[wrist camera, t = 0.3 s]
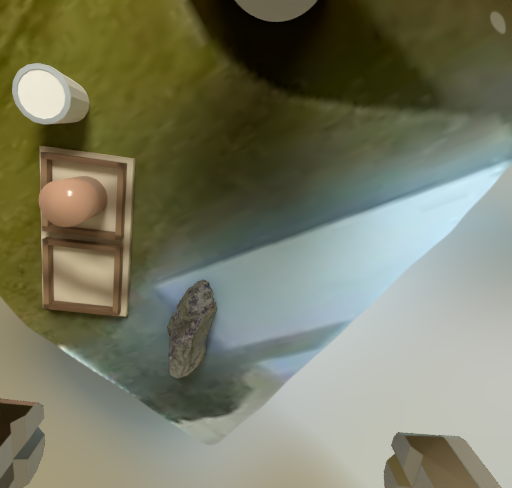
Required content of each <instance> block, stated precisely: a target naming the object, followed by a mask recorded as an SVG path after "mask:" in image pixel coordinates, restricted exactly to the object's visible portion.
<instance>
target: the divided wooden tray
mask: <svg viewBox="0 0 512 488" xmlns="http://www.w3.org/2000/svg"><path fill="white" fill-rule="evenodd" d="M135 163H136V159H134V158H126V157H119V156H112V155H105V154H98V153H90V152H83V151H76V150H69V149H62V148H55V147H47V146H40V192H41V190H42V188H43V187H44V186H45V185H46V184H48V183H50V182H52V181H56V180H61V179H67V178H72V177H78V176H89V177H92V178H95V179H96V180H98V181H99V182H100V183H101V184H102V185H103V186H104V188H105V190H106V193H107V205H106V207H105V209H104V210H103V211H102V212H101V213H100V214H98V215H96V216H94V217H92V218H90V219H88V220H85V221H83V222H81V223H79V224H77V225H75V226H71V227H61V226H57V225H55V224H53V223H51V222H50V221H49V220H48V219H46V217H45V216H44V215H43V213H42V212H41V240H42V289H43V308H44V309H52V310H61V311H71V312H80V313H90V314H99V315H109V316H125V317H126V316H127V315H128V306H129V286H130V265H131V245H132V224H133V204H134V183H135Z"/></svg>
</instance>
